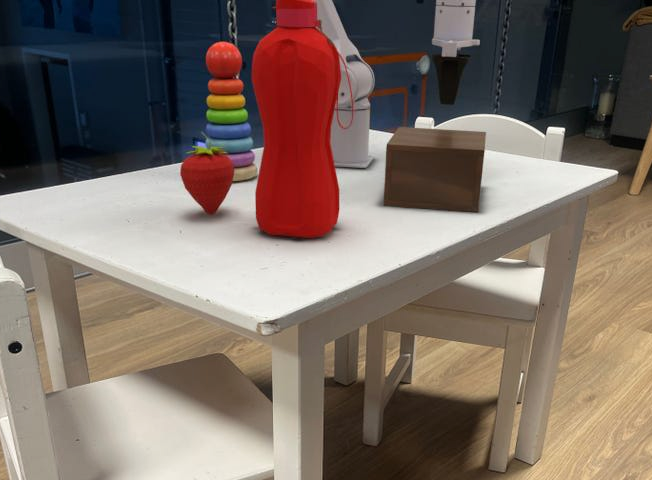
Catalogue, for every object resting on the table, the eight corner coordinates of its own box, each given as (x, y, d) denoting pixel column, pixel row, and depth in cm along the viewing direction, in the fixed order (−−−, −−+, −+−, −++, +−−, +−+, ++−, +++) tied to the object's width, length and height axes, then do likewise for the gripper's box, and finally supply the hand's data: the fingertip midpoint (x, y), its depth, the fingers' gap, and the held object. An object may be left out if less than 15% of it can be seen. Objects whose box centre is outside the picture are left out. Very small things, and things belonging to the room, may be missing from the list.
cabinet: (395, 182, 109) (398, 126, 105) (479, 188, 107) (486, 131, 104) (383, 205, 97) (386, 143, 94) (477, 212, 95) (484, 150, 92)
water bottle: (341, 245, 82) (347, -2, 70) (249, 236, 84) (239, -6, 72) (357, 222, 90) (364, -3, 78) (272, 215, 92) (267, -6, 80)
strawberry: (172, 217, 90) (164, 134, 85) (210, 204, 95) (205, 125, 91) (210, 225, 87) (204, 140, 83) (247, 211, 93) (243, 130, 88)
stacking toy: (267, 174, 111) (263, 42, 103) (238, 185, 105) (232, 45, 96) (224, 168, 114) (217, 39, 106) (193, 178, 108) (183, 41, 99)
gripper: (482, 8, 98) (472, 112, 105) (483, 6, 111) (474, 99, 117) (430, 6, 99) (423, 109, 106) (438, 4, 112) (431, 96, 118)
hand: (447, 104), depth 112 cm, fingers closed
